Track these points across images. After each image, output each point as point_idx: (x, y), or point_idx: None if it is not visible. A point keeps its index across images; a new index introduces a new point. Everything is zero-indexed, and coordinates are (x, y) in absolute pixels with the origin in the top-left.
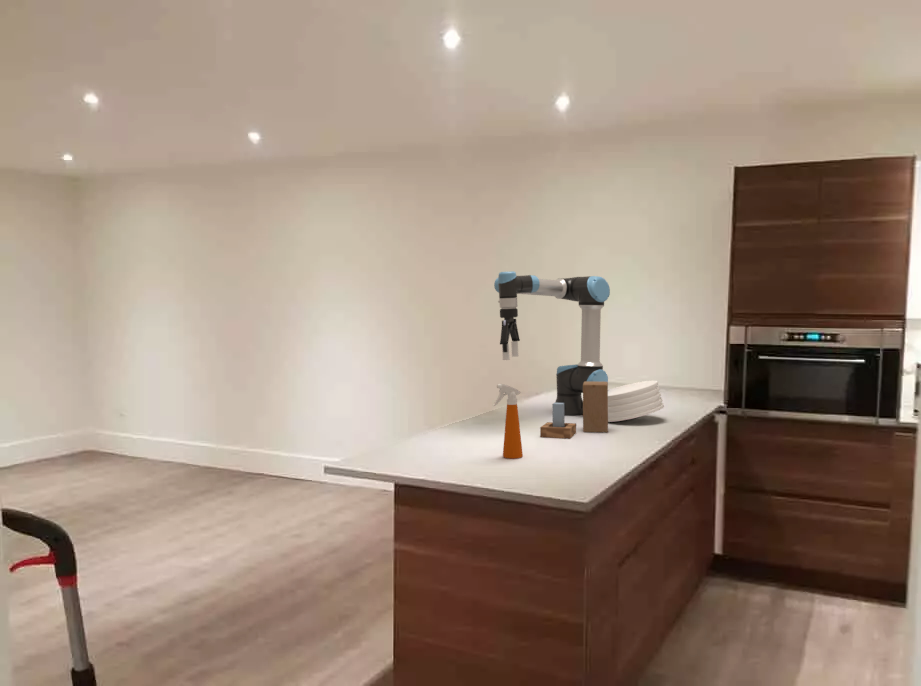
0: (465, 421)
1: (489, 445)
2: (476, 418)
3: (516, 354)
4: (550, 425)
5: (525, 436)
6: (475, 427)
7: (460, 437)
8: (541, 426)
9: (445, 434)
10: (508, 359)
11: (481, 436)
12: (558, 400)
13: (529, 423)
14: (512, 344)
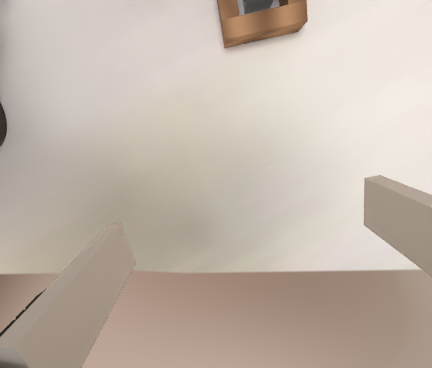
0: (193, 270)
1: (424, 101)
2: (153, 267)
3: (117, 241)
4: (256, 13)
5: (300, 73)
6: (244, 223)
7: (355, 199)
8: (294, 23)
9: (334, 239)
10: (382, 181)
11: (332, 166)
12: None
13: (147, 141)
14: (77, 353)
